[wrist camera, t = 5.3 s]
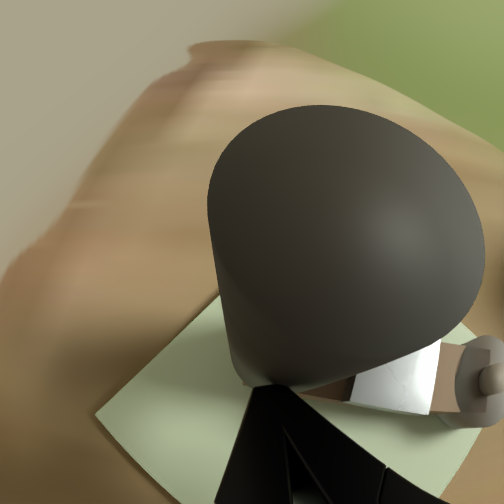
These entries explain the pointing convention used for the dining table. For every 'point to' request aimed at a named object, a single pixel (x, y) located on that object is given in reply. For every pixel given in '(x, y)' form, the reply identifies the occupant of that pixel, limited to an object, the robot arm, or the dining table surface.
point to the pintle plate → (232, 411)
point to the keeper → (397, 384)
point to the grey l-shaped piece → (349, 259)
